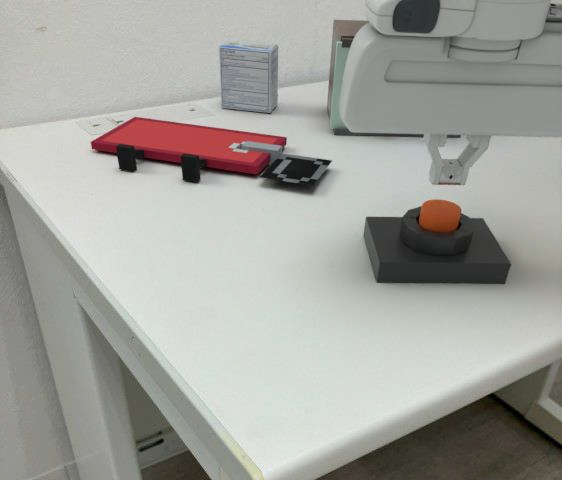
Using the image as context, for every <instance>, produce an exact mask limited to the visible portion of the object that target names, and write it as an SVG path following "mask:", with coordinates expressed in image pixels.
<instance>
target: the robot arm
mask: <svg viewBox="0 0 562 480" xmlns="http://www.w3.org/2000/svg"><path fill="white" fill-rule="evenodd" d="M364 13H365V17H366V19H367V21H369V23H367V24H366V25H364V26H363V27H362V28H361V29H360V30H359V31H358V32H357V34H356V35H355V37H354V39H353V41H352V44H351V47H350V50H349V54H348V58H347V62H346V66H345V71H344V76H343V81H342V87H341V94H340V103H339V112H340V117H341V119H342V121H343V123H344V124H345V126H346V127H347V128H348V130H349V131H351V132H355V133H396V134H424V137H422V138H423V142H424V144H425V146H426V149H427V152H428V155H429V157H430V160H431V163H430V168H429V174H428V180H429V182H430V184H431V185H432V186H465V185H466V184H467V180H468V176H469V172H470V168H472V167H473V166H474V165H475V163H476V162H477V161H478V160H479V159H480V158H481V157H482V156H483V154H485V152H486V151H487V150H488V149H489V146H490V141H491V138H492V137H526V138H527V137H530V138H562V3H552V0H365V2H364ZM447 135H461V136H465V139H466V141H467V142H468V144H467V145H466V146H465V148H464V149H463V151H462V152H461V153H460V154H459V155H458V156H457V159H456V158H442V156H441V153H440V150H439V148H444V147H445V146H446V143H447V139H448V137H447Z"/></svg>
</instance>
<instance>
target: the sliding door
mask: <svg viewBox="0 0 562 480" xmlns="http://www.w3.org/2000/svg"><path fill="white" fill-rule="evenodd" d="M341 46H342V42H340V41H337V45H336V58H335V70H334V82H333V94H332V106H331V118H330V117H329V120H330V121H329V129H331V130H333V129H334V128H342V129H348V128H347V127H346V126H345V124H344V123H343V121H342V119H341V117H340V112H339V103H340V94H341V87H342V81H343V76H344V71H345V66H346V62H347V58H348V54H349V50H350V48H342V47H341Z"/></svg>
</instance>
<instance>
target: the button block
mask: <svg viewBox="0 0 562 480" xmlns="http://www.w3.org/2000/svg"><path fill="white" fill-rule="evenodd" d="M421 207H422V205H421V206H418V207H414V208H410V209H408V210H407V211H406V212H405V213H404V214H403V216H365V221H364V227H363V228H364V229H363V239H364V243H365V247H366V250H367V254H368V257H369V261H370V265H371V268H372V272H373V276H374V278H375V283H377V284H447V285H448V284H449V285H451V284H453V285H455V284H456V285H457V284H458V285H459V284H460V285H463V284H464V285H465V284H466V285H467V284H468V285H505V284H506V282H507V279H508V276H509V273H510V269H511V266H512V262H511V261H510V260H509V257H508V256H507V255H506V253H505V252H504V250H503V248H502V246H501V245H500V244H499V241H498V240H497V238H496V237H495V235H494V233H493V232H492V231H491V228H490V227H489V225H488V224H487V223H486V221H485V219H484V218H483V217H470V216H468V215H466V214H465V213H463V212H461V215H460V219H459V223H458V227H457V230H456V231H452V232H436V231H432V230H428V229H425V228H423V227H422V226H420V225H419V217H420V212H421Z"/></svg>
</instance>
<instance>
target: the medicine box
mask: <svg viewBox="0 0 562 480" xmlns="http://www.w3.org/2000/svg"><path fill="white" fill-rule="evenodd" d="M218 55H219V80H220V105H221V108H222V109H229V110H237V111H238V110H239V111H247V112H249V111H250V112H256V113H266V114H270V113H272V112H273V110H274V109H275V108H276V106H278V101H279V99H278V95H279V93H278V91H279V88H278V87H279V44H278V43H271V42H263V41H254V40H253V41H251V40H239V39H227V40H226V41H224V42H223V43H222V44H221V45H220V46H219V47H218Z"/></svg>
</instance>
